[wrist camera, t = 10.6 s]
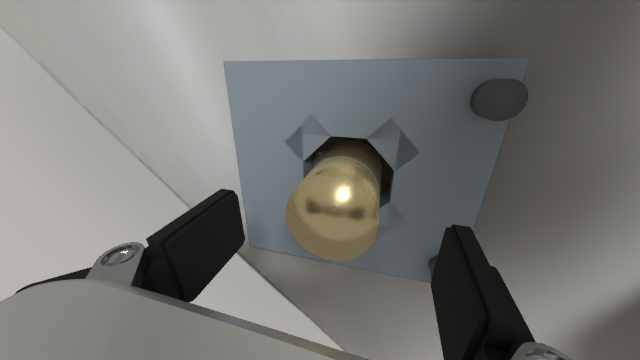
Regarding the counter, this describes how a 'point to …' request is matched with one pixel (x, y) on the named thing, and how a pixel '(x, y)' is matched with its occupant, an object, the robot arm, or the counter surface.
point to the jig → (375, 143)
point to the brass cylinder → (338, 203)
